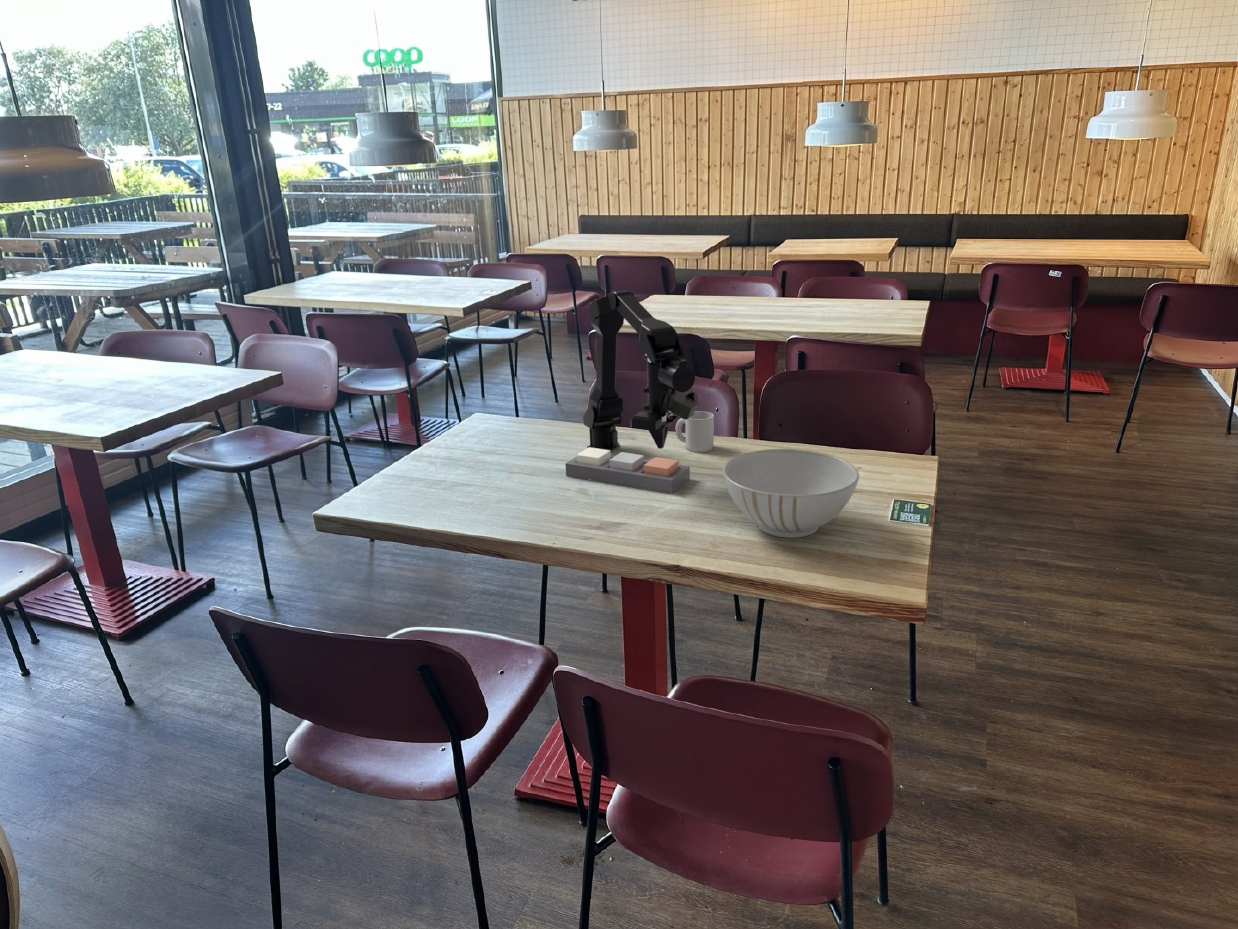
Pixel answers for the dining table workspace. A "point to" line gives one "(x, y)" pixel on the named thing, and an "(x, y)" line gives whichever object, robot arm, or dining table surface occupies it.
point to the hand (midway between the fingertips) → (660, 448)
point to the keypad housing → (629, 476)
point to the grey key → (627, 461)
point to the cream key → (594, 456)
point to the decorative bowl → (790, 489)
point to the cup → (697, 431)
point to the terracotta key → (661, 467)
